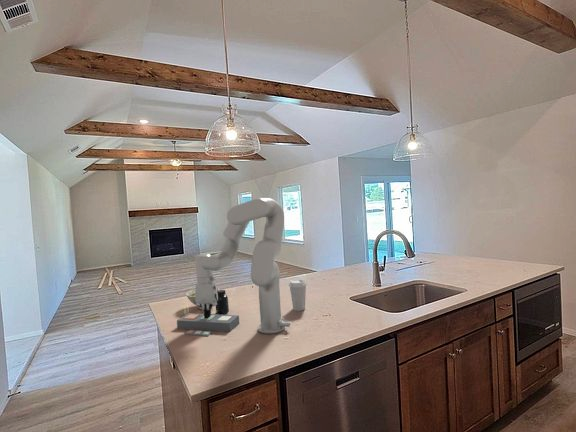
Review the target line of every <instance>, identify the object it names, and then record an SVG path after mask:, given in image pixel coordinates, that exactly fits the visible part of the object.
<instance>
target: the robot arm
mask: <svg viewBox="0 0 576 432" xmlns="http://www.w3.org/2000/svg"><path fill="white" fill-rule="evenodd" d="M284 213H285V212H284V210H283V208H282V205H281V204H279V203H278V201H276V200H274V199H273V198H269V197H257V198H254V199H251V200H248V201H245V202H241V203H240V204H236V205H233V206H231V207H230V208H229V209H228V210H227V213H226V219H227V221H228V223H227V224H226V227H225V228H224V230H223V236H224V239H225V241H224V244H223V247H222V248H221V250H220V252H218V253H214V254H213V255H211V254H210V253H201V254H197V255H196V256H195V269H196V271H195V272H196V283H195V289H194V290H195V299H196V302H197V303H196V304H197V305H199V306H201V307H202V309H201V310H202V311H203V314H204V318H209V317H210V316H211V314H212V312H211V311H212V308H213V307H216V305H217V301H218V294H217V288H218V287H217V284H216V277H214V273H213V272H214V271H215V272H216V271H220V270H222V269H224V268H226V267H228V266H229V265H231V263H232V262H233V260H234V258H235V257H236V254H237V253H238V250H239V247H240V241H241V238H242V237H243V236H244V233H245V231H246V229H247V228H248V225H249V224H250V222H252V221H255V220H258V219H262V218H265V219H266V220H265V224H264V228H263V236H262V239H261V240H259V241H258V242H257V243H256V244H255V245H254V248H253V253H252V260H251V266H250V279H251V281H252V283H253V285H255V286H257V287H258V303H259V315H260V324H258V326H257V331H258V332H259V334H260V333H261V334H264V335H265V334H266V335H272V334H278V333H280V332H283V331H284V330H285V328H287V327H288V328H290V327H291V322H290V321H289V320H285V319H284V317H283V316H282V312H281V311H282V309H281V294H280V293H281V292H280V289H281V288H280V279H281V277H280V274H281V273H280V272H281V271H280V267H279V265H278V263H277V262H276V261H275V258H277V257H278V256H279V255H280V253H281V250H282V249H281V248H282V240H283V234H284V233H283V232H284V226H285V225H284V224H285V214H284ZM197 305H196V306H197ZM199 306H198V307H199Z"/></svg>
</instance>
